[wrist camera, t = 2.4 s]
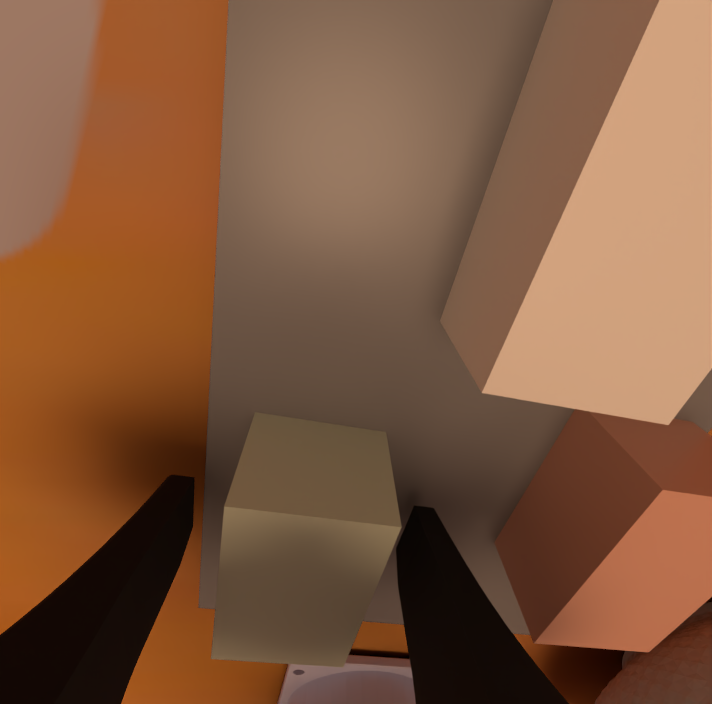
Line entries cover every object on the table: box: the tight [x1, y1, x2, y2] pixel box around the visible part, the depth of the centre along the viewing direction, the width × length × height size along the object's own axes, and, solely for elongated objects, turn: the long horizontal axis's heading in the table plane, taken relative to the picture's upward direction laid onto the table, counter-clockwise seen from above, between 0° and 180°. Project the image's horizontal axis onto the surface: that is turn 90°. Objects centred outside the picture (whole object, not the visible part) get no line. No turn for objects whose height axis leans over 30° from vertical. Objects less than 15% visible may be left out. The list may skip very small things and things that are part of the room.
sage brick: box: [211, 412, 402, 667], centre depth 10 cm, size 6×4×3 cm, turn 167°
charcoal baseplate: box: [199, 0, 712, 635], centre depth 11 cm, size 20×14×1 cm
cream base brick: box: [440, 0, 712, 425], centre depth 6 cm, size 6×4×3 cm, turn 167°
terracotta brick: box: [494, 409, 712, 652], centre depth 10 cm, size 6×4×3 cm, turn 167°
